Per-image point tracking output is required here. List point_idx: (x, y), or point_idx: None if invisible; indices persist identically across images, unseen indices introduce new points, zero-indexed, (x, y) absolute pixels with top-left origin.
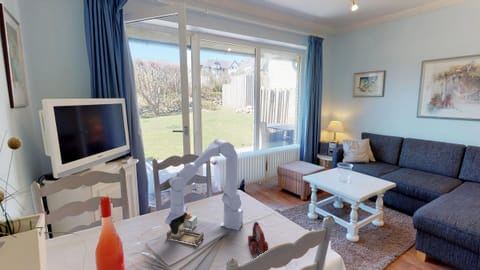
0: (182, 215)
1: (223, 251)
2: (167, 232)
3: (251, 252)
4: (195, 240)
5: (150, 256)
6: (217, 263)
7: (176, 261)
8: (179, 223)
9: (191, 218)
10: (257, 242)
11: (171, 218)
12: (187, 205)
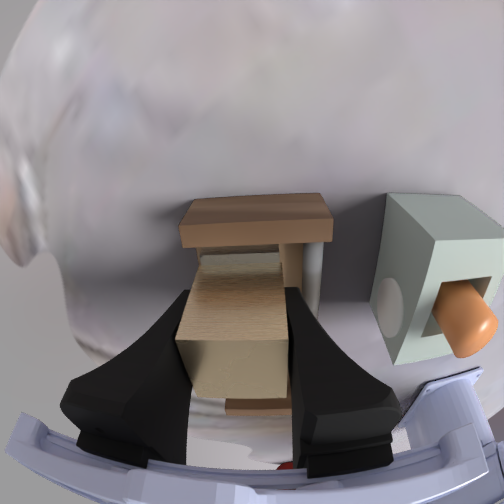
0: (296, 467)
1: (255, 436)
2: (186, 228)
3: (281, 465)
4: (225, 406)
5: (32, 230)
6: (191, 434)
7: (98, 349)
8: (255, 382)
9: (437, 341)
10: (295, 489)
11: (63, 487)
12: (452, 492)
